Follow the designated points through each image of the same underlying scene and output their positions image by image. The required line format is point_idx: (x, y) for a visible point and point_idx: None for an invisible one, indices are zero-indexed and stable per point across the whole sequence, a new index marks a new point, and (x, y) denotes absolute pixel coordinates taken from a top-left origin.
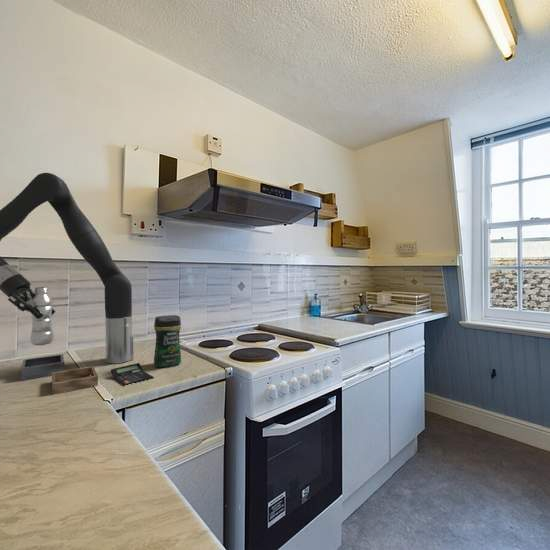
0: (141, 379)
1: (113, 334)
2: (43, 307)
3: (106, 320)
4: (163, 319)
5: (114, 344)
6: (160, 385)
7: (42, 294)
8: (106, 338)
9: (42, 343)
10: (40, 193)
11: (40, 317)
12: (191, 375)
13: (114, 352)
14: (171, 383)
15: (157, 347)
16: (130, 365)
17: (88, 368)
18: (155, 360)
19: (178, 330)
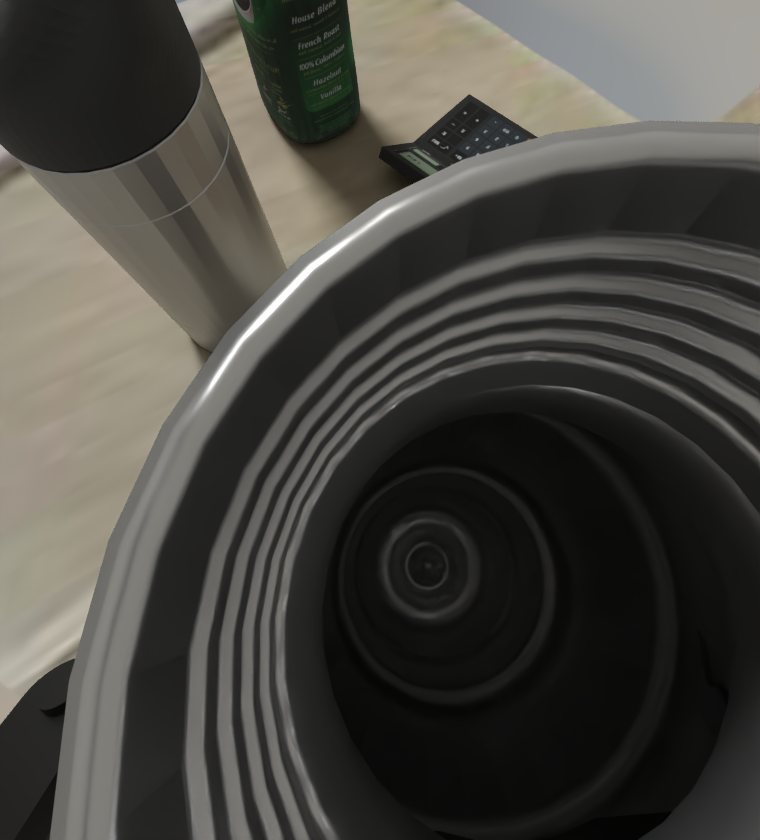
0: (499, 117)
1: (250, 191)
2: (580, 449)
3: (176, 160)
4: None
5: (269, 234)
6: (529, 62)
7: (661, 451)
8: (232, 264)
9: (480, 524)
10: None
11: None
12: (432, 13)
13: (282, 264)
14: (509, 41)
15: (336, 38)
16: (411, 166)
17: None
18: (344, 107)
19: None
